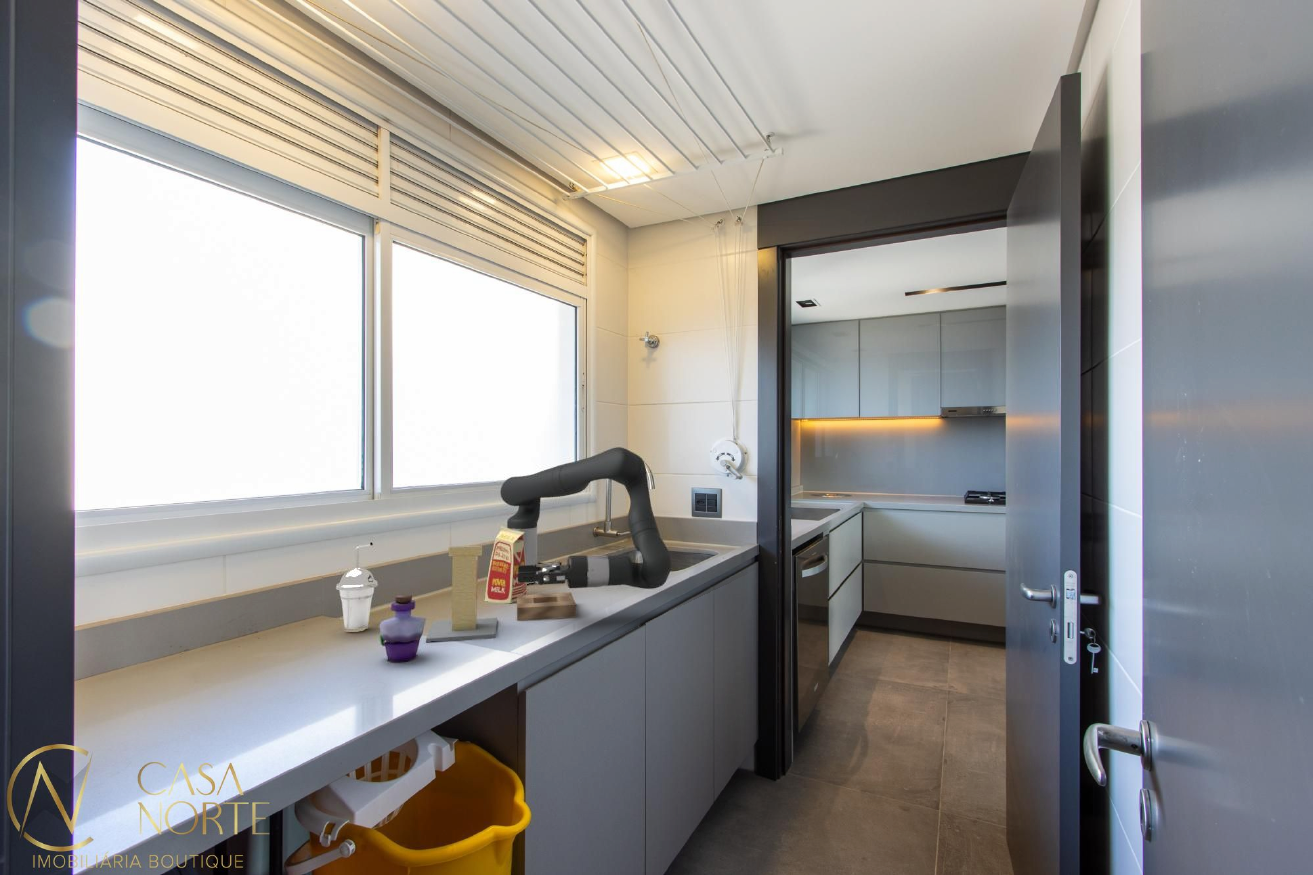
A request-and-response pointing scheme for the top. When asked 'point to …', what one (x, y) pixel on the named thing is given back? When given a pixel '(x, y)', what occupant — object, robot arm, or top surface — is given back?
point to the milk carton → (506, 568)
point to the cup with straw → (356, 594)
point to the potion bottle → (402, 631)
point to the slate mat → (462, 631)
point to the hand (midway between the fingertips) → (517, 573)
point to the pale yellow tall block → (464, 586)
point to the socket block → (545, 606)
